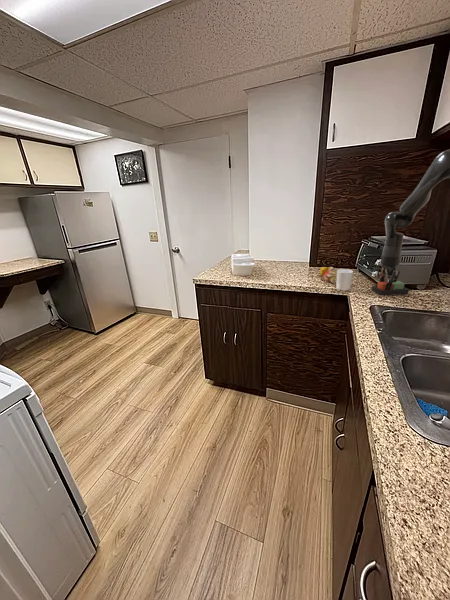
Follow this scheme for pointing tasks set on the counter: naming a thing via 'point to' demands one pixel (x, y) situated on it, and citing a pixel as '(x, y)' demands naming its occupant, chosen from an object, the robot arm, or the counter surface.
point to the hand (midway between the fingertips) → (384, 287)
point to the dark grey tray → (390, 291)
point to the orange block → (383, 285)
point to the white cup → (344, 279)
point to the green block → (398, 285)
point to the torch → (328, 274)
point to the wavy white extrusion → (242, 264)
